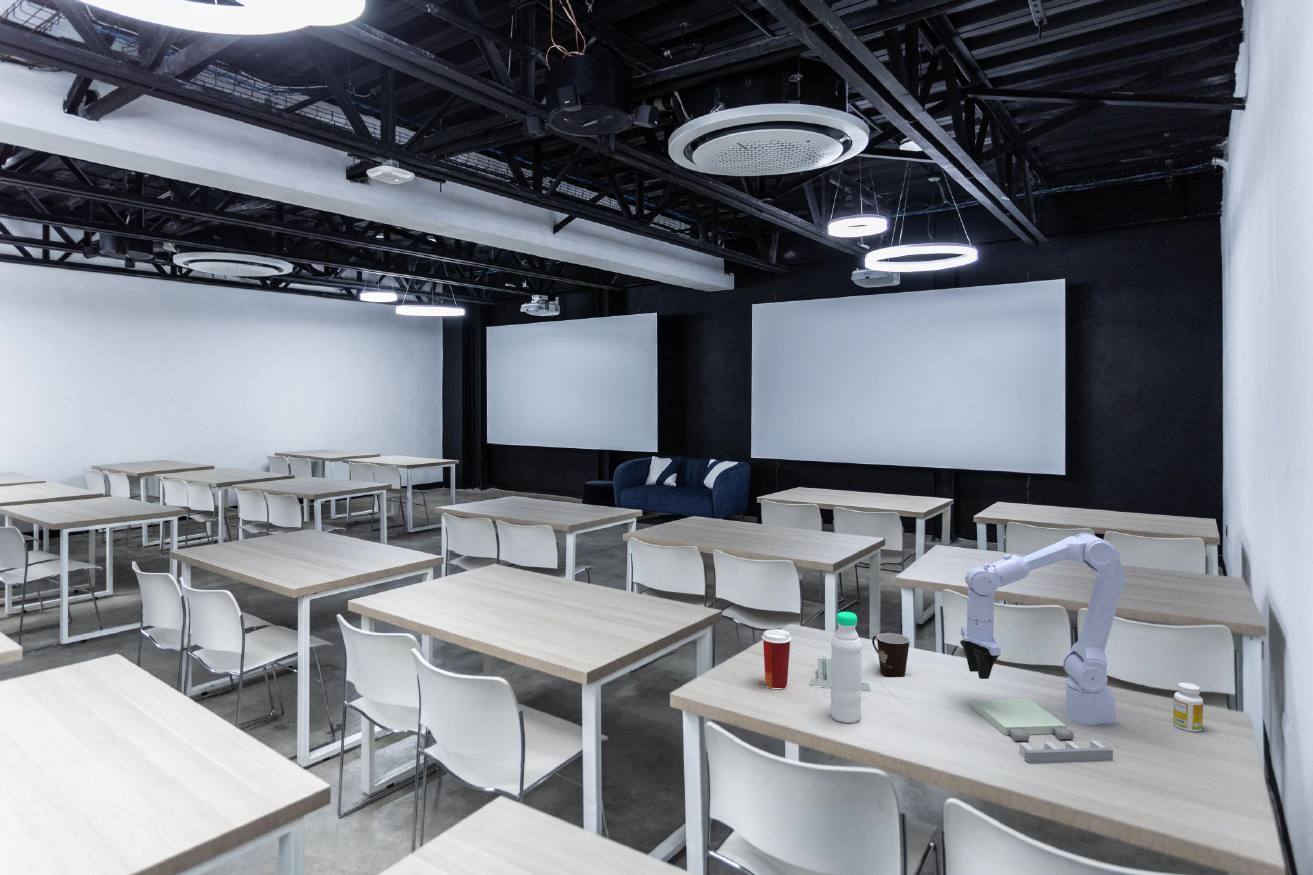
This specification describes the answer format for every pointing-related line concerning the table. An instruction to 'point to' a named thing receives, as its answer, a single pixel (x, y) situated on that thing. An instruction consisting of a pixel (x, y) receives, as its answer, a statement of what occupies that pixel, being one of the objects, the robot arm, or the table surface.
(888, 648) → the coffee mug
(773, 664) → the paper cup
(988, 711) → the door
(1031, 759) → the jig board
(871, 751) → the table surface
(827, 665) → the metal bracket
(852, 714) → the water bottle
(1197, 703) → the supplement bottle
